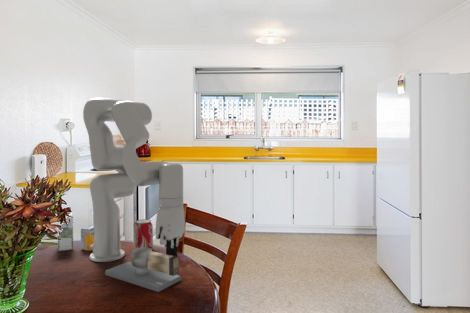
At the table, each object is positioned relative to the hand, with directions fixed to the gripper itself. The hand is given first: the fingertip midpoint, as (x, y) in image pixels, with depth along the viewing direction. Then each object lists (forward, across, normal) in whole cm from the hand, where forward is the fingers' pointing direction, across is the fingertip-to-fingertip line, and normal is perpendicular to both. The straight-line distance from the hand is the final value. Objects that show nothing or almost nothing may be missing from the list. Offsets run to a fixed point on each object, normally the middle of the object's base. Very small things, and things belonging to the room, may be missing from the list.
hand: (171, 258), depth 112 cm
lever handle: (+3, +3, -5) cm, 6 cm away
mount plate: (+7, +2, -10) cm, 12 cm away
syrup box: (+7, -6, -57) cm, 58 cm away
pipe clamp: (+7, -13, -44) cm, 46 cm away
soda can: (+7, -20, -28) cm, 35 cm away
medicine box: (+7, -13, -50) cm, 52 cm away
